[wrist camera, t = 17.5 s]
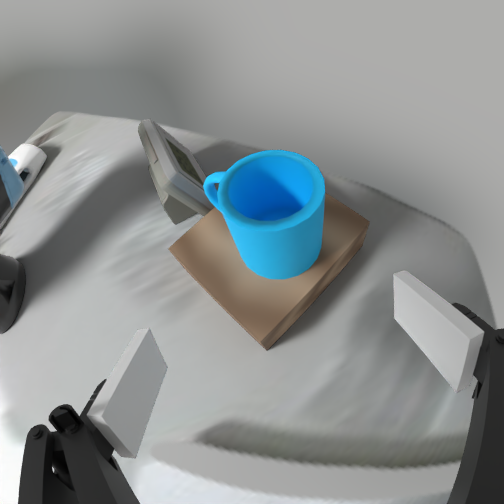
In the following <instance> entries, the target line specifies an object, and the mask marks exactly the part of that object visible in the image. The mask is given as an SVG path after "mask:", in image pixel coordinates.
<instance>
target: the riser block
mask: <svg viewBox="0 0 504 504" xmlns="http://www.w3.org/2000/svg"><path fill="white" fill-rule="evenodd" d="M368 226H369V221H368V220H367V219H365V218H364V217H362V216H361V215H359V214H358V213H356V212H355V211H353V210H352V209H350V208H349V207H347V206H345V205H344V204H342V203H341V202H339V201H338V200H336V199H335V198H333V197H331V196H330V195H328V194H327V193H325V202H324V219H323V233H322V245H321V250H320V252H319V255H318V258H317V260H316V261H315V262H314V263H313V264H312V266H311V267H310V268H309V269H308V270H306V271H305V272H303V273H301V274H300V275H298V276H295V277H292V278H288V279H268V278H265V277H263V276H260V275H257V274H256V273H255V272H253V271H252V270H251V269H249V268H248V267H247V265H246V264H245V262H244V261H243V259H242V258H241V256H240V253H239V251H238V249H237V246H236V244H235V242H234V240H233V237H232V235H231V233H230V230H229V228H228V226H227V223H226V221H225V219H224V216H223V214H222V213H221V212H220V211H219V210H218V209H217V208H216V207H215V208H213V209H212V210H211V211H210V212H209V213H208V214H206V215H205V216H204V217H203V218H202V219H201V220H200V221H199V222H197V223H196V224H195V225H194V226H193V227H192V228H191V229H189V230H188V231H187V232H186V233H185V234H184V235H183V236H182V237H181V238H180V239H178V240H177V241H176V242H175V243H174V244H173V245H172V246H171V247H170V248H169V250H170V252H171V253H172V254H173V255H174V256H175V258H176V259H177V260H178V261H179V262H180V264H181V265H182V266H183V267H184V268H185V269H186V270H187V272H188V273H189V274H190V275H191V276H192V277H193V278H194V279H195V280H196V281H197V282H198V283H199V284H200V285H201V286H202V287H203V288H204V289H205V290H206V291H207V292H208V293H209V294H210V295H211V296H212V297H213V298H214V299H215V301H216V302H217V303H218V304H219V305H220V306H221V307H222V308H223V309H224V310H225V311H226V312H227V313H228V314H229V315H230V316H231V317H232V318H233V319H235V320H236V321H237V322H238V323H239V324H240V325H241V326H242V327H243V328H244V329H245V330H246V331H247V332H248V333H249V334H250V335H251V336H252V337H253V338H254V339H255V340H256V341H257V342H258V343H259V344H260V345H261V346H263V347H264V348H265V349H266V350H268V349H269V348H270V347H271V346H272V345H273V344H274V343H275V342H276V341H277V340H278V339H279V338H280V337H281V336H282V335H283V334H284V333H285V332H286V331H287V330H288V329H289V328H290V327H291V326H292V325H293V324H294V323H295V321H296V320H297V319H298V318H299V317H300V316H301V315H302V314H303V313H304V312H305V311H306V310H307V309H308V308H309V306H310V305H311V304H312V303H313V302H314V301H315V300H316V299H317V298H318V297H319V295H320V294H321V293H322V292H323V291H324V290H325V289H326V288H327V287H328V285H329V284H330V283H331V282H332V281H333V280H334V279H335V277H336V276H337V275H338V274H339V273H340V272H341V270H342V269H343V268H344V267H345V266H346V265H347V263H348V262H349V261H350V260H351V259H352V257H353V256H354V255H355V254H356V253H357V251H358V250H359V249H360V248H361V247H362V245H363V242H364V239H365V235H366V232H367V229H368Z"/></svg>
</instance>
